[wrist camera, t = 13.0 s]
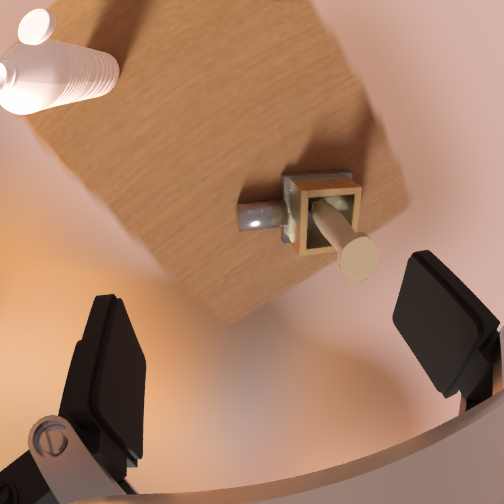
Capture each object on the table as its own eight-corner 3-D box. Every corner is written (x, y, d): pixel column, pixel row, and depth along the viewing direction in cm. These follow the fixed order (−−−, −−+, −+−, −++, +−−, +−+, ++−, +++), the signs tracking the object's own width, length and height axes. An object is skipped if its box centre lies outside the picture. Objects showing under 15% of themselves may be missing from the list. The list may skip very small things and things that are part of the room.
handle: (325, 183, 46) (372, 230, 33) (338, 217, 49) (383, 270, 36) (297, 197, 46) (335, 249, 33) (311, 230, 49) (349, 288, 37)
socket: (233, 177, 44) (239, 193, 39) (348, 169, 47) (368, 183, 41) (238, 244, 50) (244, 266, 45) (343, 231, 52) (359, 250, 47)
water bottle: (95, 106, 35) (-6, 145, 14) (67, 77, 32) (-50, 92, 11) (142, 61, 34) (75, 38, 12) (112, 31, 30) (23, -13, 9)
